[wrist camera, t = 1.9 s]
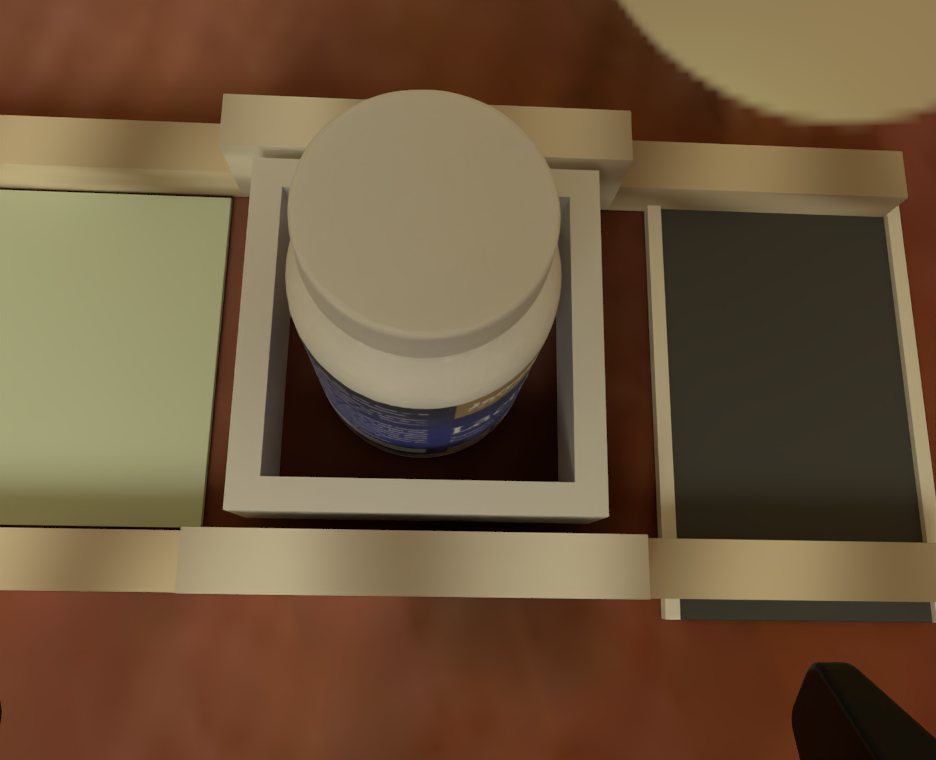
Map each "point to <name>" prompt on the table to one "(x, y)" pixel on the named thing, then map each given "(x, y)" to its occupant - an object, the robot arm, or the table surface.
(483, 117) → the pill bottle
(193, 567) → the oak channel
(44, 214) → the pad
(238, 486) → the collar carriage
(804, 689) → the robot arm
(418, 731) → the table surface
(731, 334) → the tray
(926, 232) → the table surface
